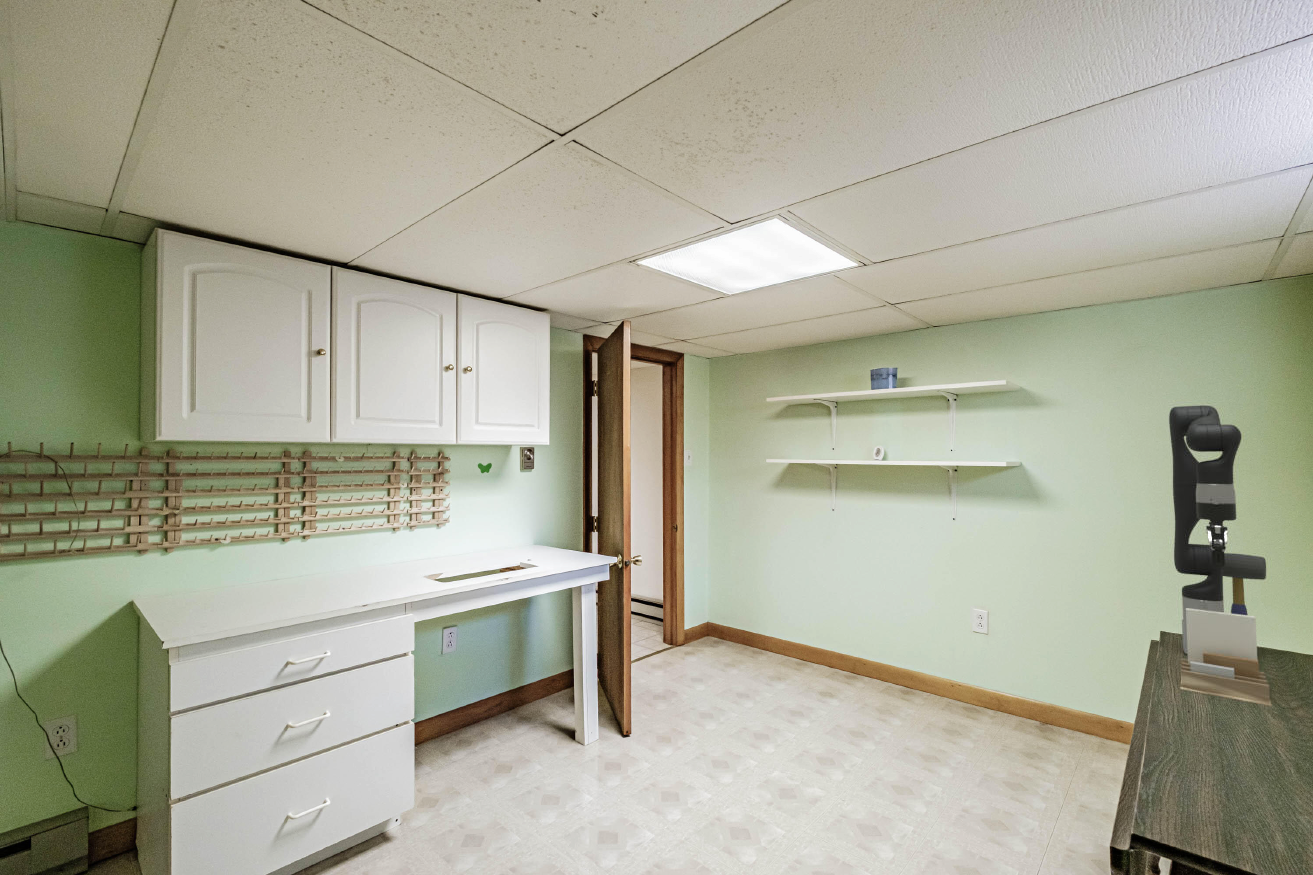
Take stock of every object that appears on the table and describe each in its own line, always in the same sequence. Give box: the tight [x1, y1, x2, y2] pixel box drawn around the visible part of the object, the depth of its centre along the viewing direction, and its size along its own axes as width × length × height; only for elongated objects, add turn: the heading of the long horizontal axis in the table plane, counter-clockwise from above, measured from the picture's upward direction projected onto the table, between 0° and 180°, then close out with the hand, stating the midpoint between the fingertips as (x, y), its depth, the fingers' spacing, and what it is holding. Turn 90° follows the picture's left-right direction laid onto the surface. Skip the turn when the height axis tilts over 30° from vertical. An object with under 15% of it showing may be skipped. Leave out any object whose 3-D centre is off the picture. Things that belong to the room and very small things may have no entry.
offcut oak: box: [1203, 652, 1260, 679], centre depth 149 cm, size 2×10×8 cm, turn 48°
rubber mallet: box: [1223, 552, 1267, 616], centre depth 182 cm, size 12×8×30 cm, turn 40°
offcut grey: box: [1190, 661, 1235, 679], centre depth 148 cm, size 2×8×6 cm, turn 48°
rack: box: [1180, 658, 1272, 707], centre depth 150 cm, size 16×16×5 cm
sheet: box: [1186, 608, 1258, 664], centre depth 153 cm, size 2×13×18 cm, turn 48°
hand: (1218, 563), depth 154 cm, fingers open, 8 cm apart
